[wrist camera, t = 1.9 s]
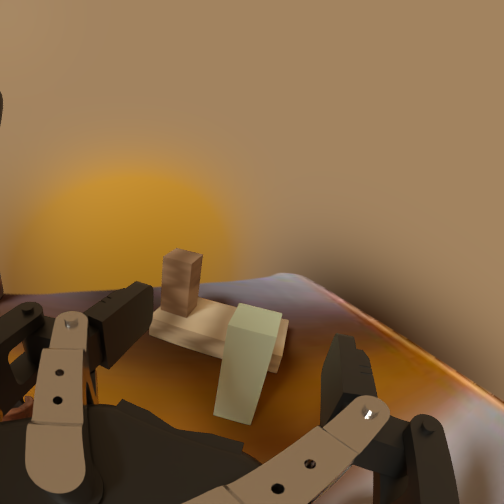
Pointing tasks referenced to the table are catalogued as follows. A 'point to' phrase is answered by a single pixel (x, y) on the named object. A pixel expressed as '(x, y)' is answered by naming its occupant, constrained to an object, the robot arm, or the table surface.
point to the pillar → (245, 361)
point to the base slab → (197, 311)
